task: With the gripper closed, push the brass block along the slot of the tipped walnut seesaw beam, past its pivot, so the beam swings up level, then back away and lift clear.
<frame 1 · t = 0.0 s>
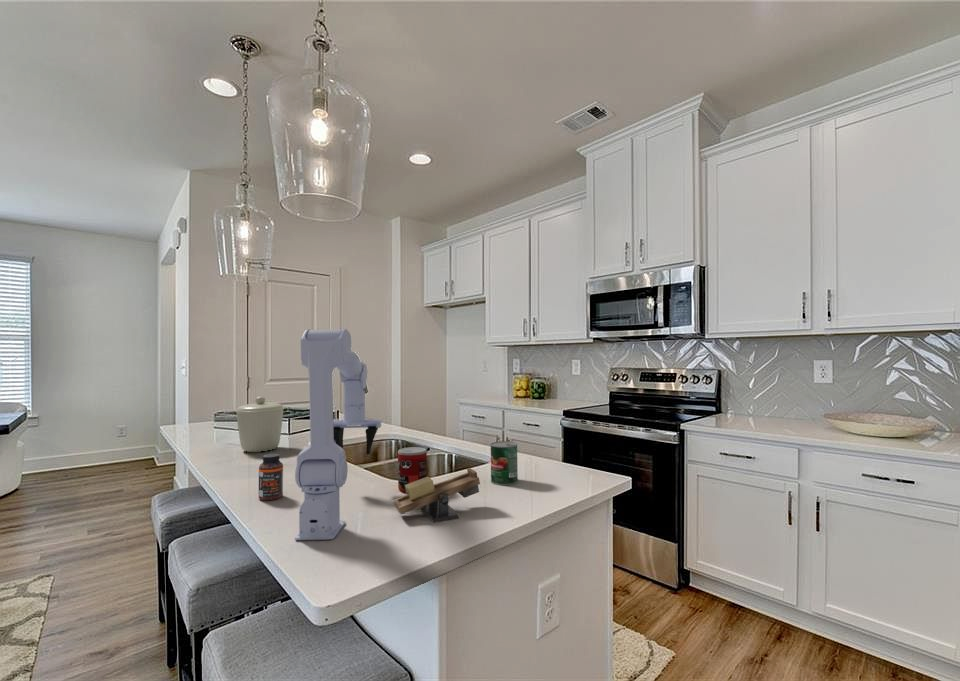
hand: (354, 453, 128), 10 cm above the worktop, tool pointing down, fingers open, 7 cm apart
supplement bottle: (271, 498, 122), on the worktop
canned tomato: (504, 482, 135), on the worktop
beam: (437, 493, 110), point 4 cm above the worktop, hinge at -12.6°, touching rider
canister: (260, 450, 182), on the worktop
rider: (421, 496, 109), point 4 cm above the worktop, tilted 13°, touching beam
canned food: (412, 490, 128), on the worktop
stand: (438, 511, 110), on the worktop
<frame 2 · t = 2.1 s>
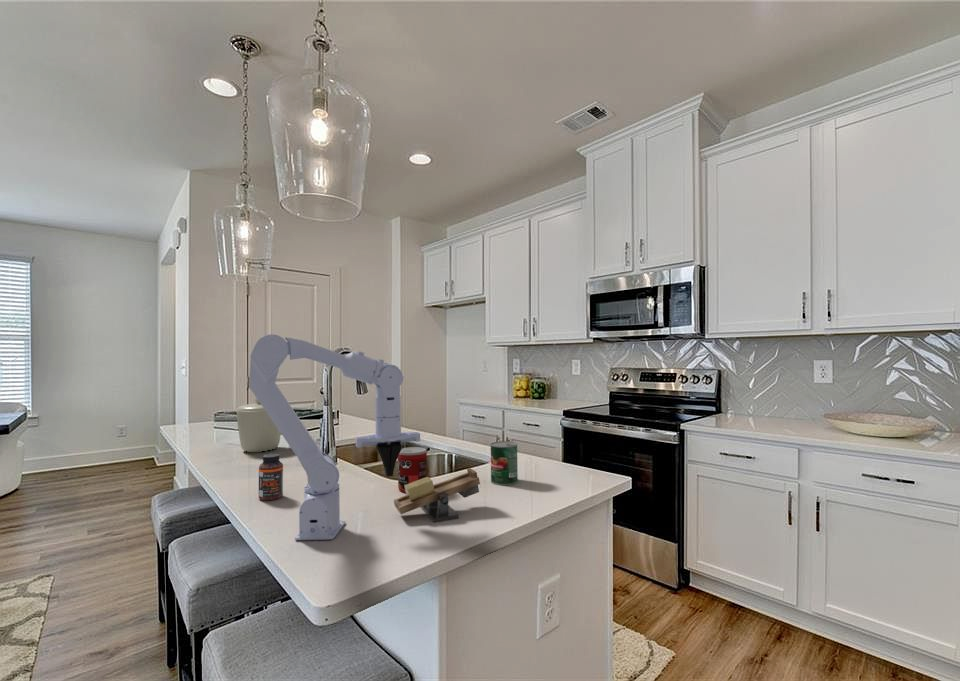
hand: (389, 475, 106), 10 cm above the worktop, tool pointing down, fingers closed
nothing on the worktop moved.
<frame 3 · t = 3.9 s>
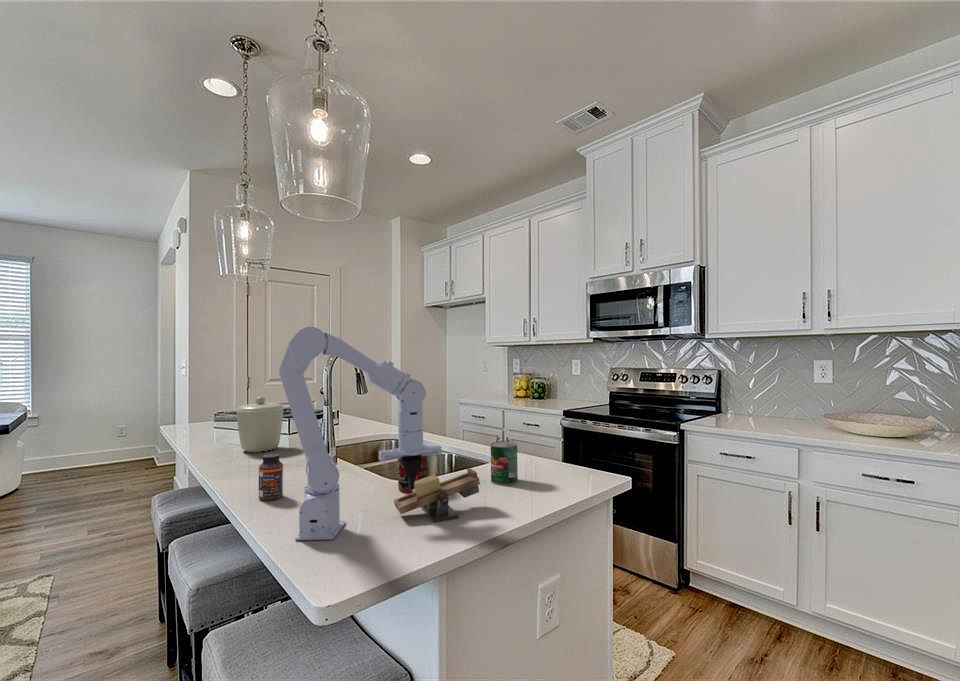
hand: (411, 488, 108), 6 cm above the worktop, tool pointing down, fingers closed, pressing on rider
rider: (427, 494, 109), point 4 cm above the worktop, tilted 13°, touching beam, gripper
everything else where it was.
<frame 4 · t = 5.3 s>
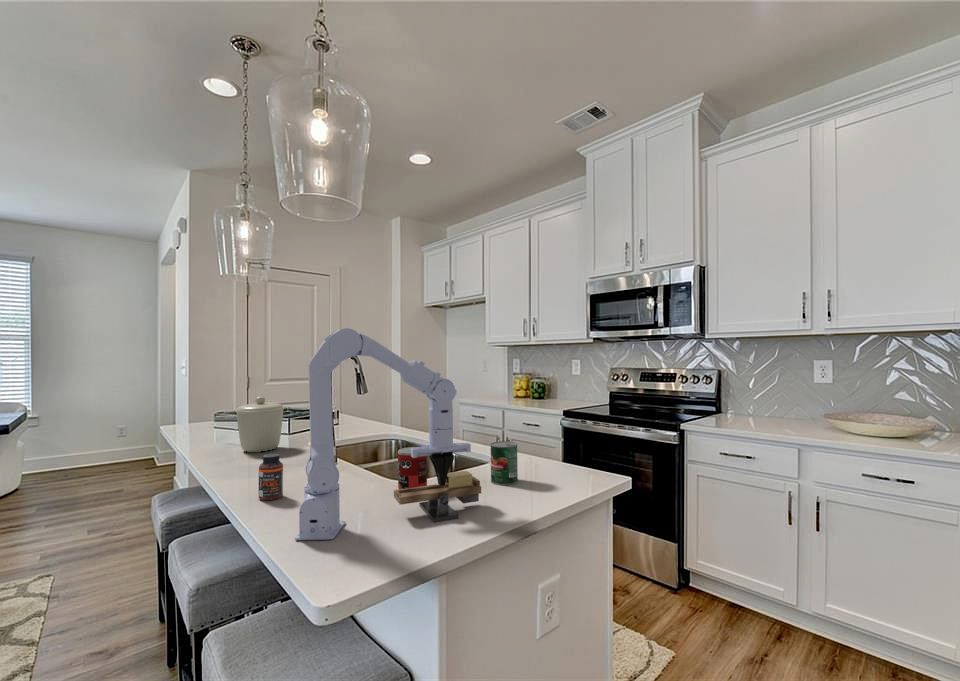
hand: (441, 484, 111), 6 cm above the worktop, tool pointing down, fingers closed
beam: (438, 493, 110), point 4 cm above the worktop, hinge at 0.4°
rider: (457, 488, 112), point 5 cm above the worktop, touching gripper
everything else where it was.
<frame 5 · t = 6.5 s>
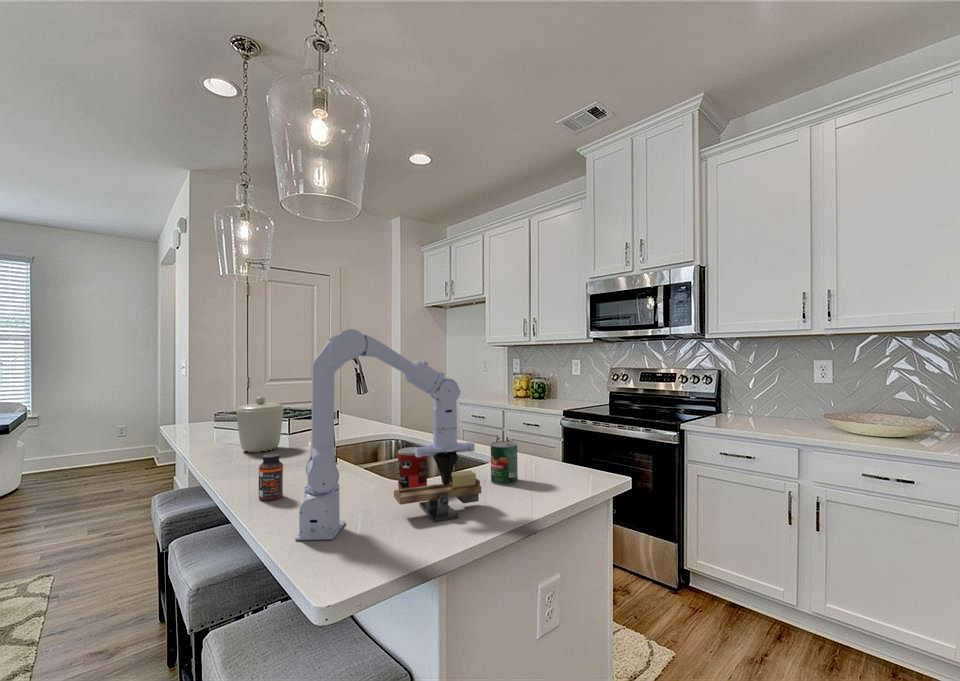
hand: (445, 483, 111), 6 cm above the worktop, tool pointing down, fingers closed
beam: (438, 493, 110), point 4 cm above the worktop, hinge at 0.5°, touching rider
rider: (461, 487, 113), point 5 cm above the worktop, touching beam, gripper
everything else where it was.
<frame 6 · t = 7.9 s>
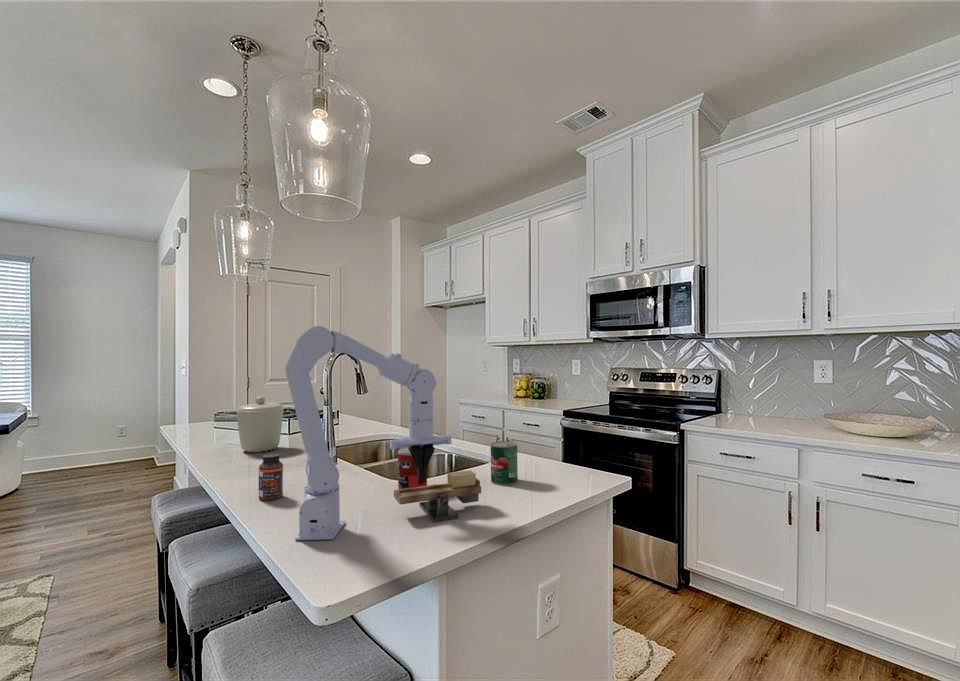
hand: (421, 477, 109), 9 cm above the worktop, tool pointing down, fingers closed
rider: (461, 487, 113), point 5 cm above the worktop, touching beam
everything else where it was.
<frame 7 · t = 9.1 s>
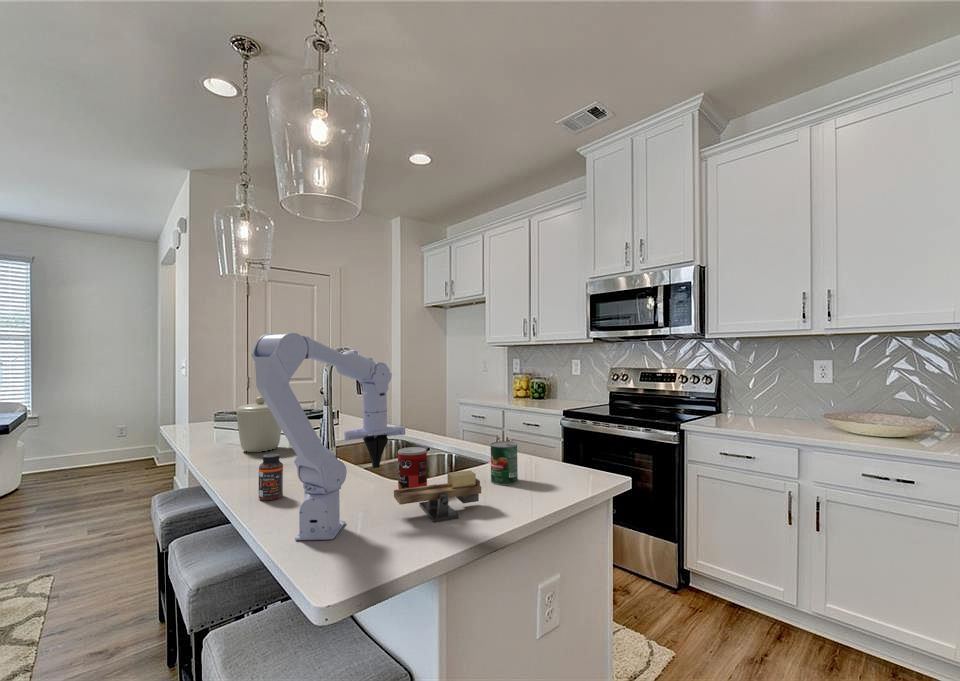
hand: (375, 466, 112), 10 cm above the worktop, tool pointing down, fingers closed
nothing on the worktop moved.
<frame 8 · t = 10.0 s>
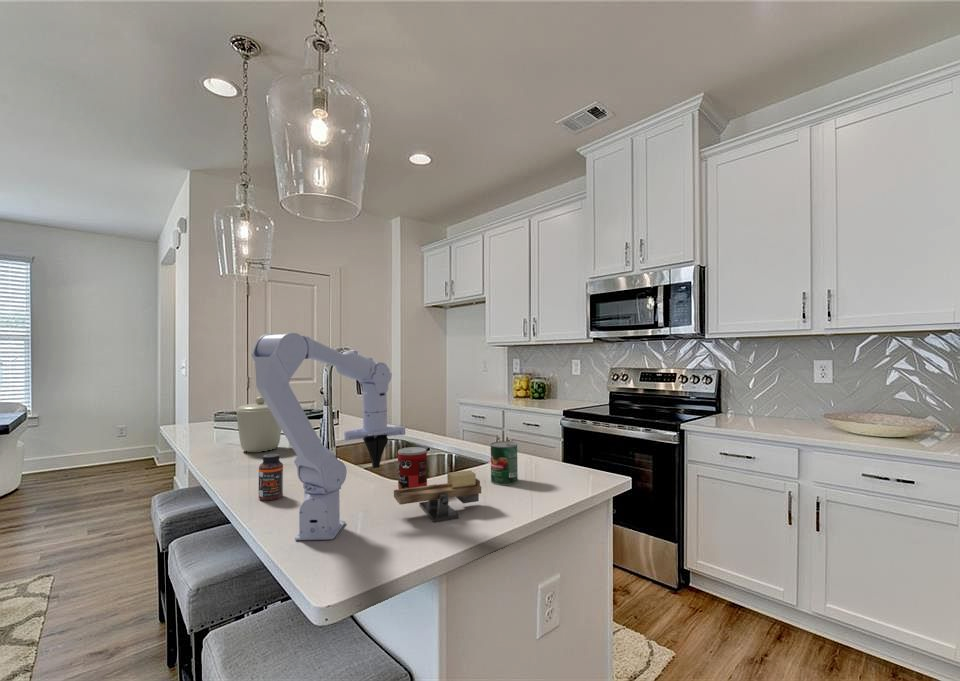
hand: (375, 466, 112), 10 cm above the worktop, tool pointing down, fingers closed
nothing on the worktop moved.
at the end: beam at +0° (first picture: -13°); rider 0.3 cm from the target spot, point 5.0 cm above the worktop; the gripper is holding nothing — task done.
